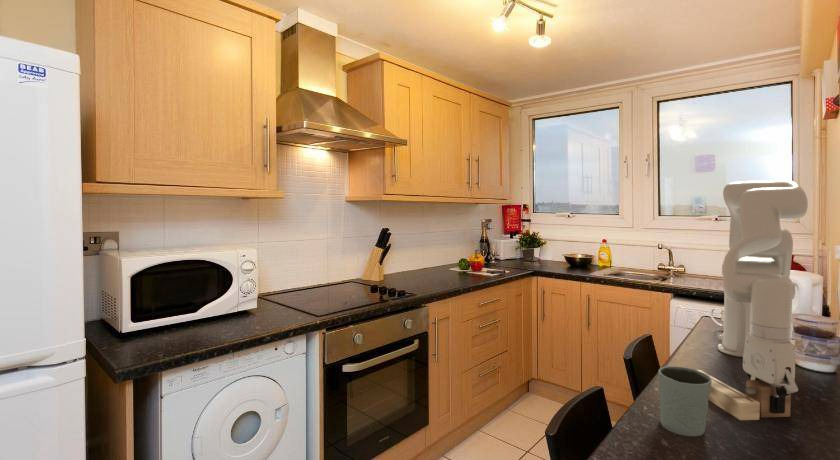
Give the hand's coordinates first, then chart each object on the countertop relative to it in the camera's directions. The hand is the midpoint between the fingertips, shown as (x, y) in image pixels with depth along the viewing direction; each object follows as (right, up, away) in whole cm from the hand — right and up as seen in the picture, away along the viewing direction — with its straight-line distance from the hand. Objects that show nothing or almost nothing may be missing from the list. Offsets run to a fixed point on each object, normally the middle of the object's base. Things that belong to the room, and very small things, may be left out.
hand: (767, 406), depth 104 cm
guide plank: (-7, -1, +7) cm, 10 cm away
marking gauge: (0, -1, 0) cm, 1 cm away
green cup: (-24, -2, -6) cm, 25 cm away
